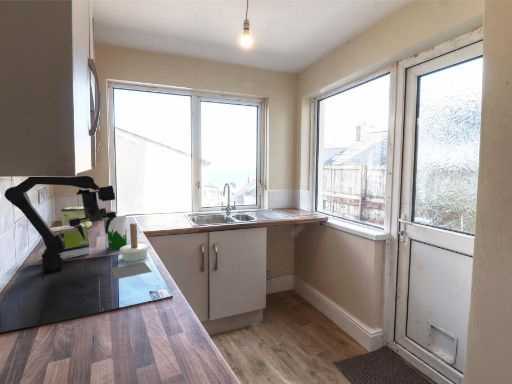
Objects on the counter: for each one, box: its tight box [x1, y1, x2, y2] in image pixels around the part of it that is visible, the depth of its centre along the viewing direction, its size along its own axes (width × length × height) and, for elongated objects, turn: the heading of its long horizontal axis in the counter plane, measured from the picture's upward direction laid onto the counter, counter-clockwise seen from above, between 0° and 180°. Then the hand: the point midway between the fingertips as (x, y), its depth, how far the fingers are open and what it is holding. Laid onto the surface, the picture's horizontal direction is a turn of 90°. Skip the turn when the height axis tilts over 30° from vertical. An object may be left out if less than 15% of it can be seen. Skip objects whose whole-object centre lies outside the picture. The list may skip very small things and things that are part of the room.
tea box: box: [49, 224, 91, 260], centre depth 144 cm, size 15×10×15 cm
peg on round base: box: [119, 222, 150, 254], centre depth 139 cm, size 13×13×12 cm
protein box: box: [60, 206, 93, 230], centre depth 200 cm, size 10×16×16 cm
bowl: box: [121, 249, 148, 262], centre depth 140 cm, size 11×11×4 cm
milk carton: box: [107, 211, 128, 251], centre depth 156 cm, size 9×9×20 cm
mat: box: [110, 261, 153, 280], centre depth 123 cm, size 14×14×1 cm
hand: (95, 236), depth 131 cm, fingers open, 9 cm apart
